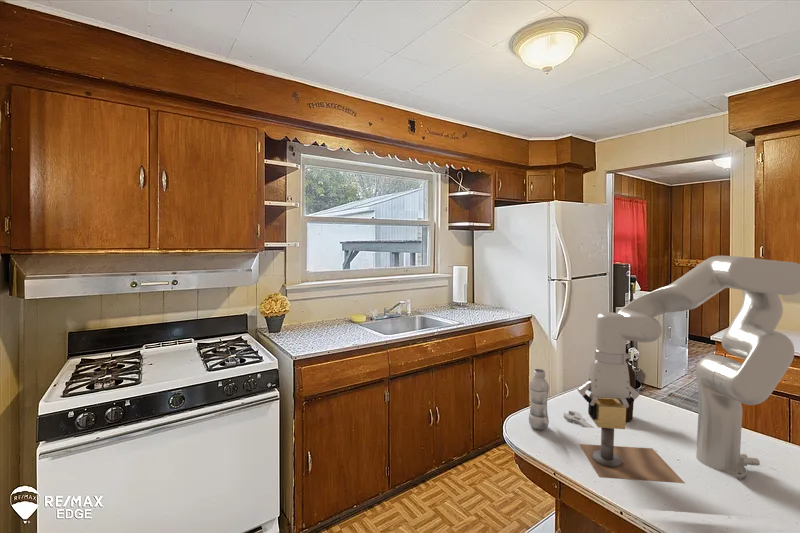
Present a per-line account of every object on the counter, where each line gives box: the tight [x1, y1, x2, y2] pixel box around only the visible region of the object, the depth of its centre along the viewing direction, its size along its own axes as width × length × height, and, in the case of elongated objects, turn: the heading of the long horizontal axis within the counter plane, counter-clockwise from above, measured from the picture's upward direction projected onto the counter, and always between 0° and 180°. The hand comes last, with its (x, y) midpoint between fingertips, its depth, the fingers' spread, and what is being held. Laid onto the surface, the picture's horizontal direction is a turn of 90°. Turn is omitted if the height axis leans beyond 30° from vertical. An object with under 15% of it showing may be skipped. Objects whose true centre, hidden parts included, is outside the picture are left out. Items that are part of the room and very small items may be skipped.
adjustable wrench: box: [563, 410, 596, 429], centre depth 133 cm, size 25×6×2 cm, turn 8°
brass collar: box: [589, 398, 627, 430], centre depth 112 cm, size 7×7×6 cm
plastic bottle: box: [528, 368, 550, 431], centre depth 135 cm, size 6×7×20 cm
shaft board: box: [578, 428, 685, 484], centre depth 112 cm, size 21×17×11 cm
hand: (607, 418), depth 112 cm, fingers closed on brass collar, 7 cm apart
